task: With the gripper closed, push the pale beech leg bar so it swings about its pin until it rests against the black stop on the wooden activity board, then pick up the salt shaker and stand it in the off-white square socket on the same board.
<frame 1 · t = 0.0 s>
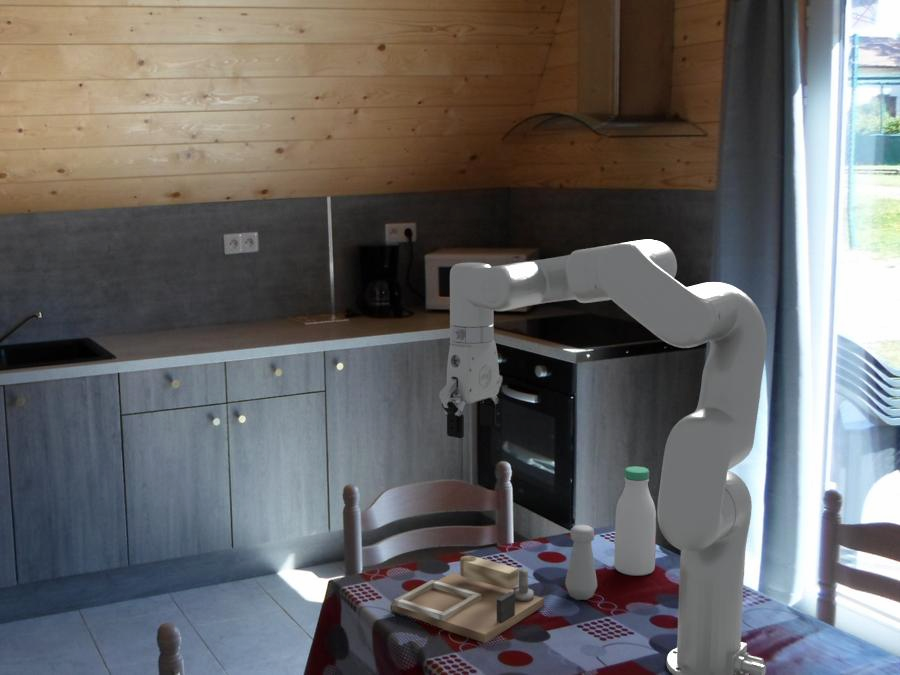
hand: (472, 430, 186), 31 cm above the table, tool pointing down, fingers open, 9 cm apart
milk bottle: (634, 570, 205), on the table
salt shaker: (581, 596, 193), on the table
wooden activity board: (468, 609, 187), on the table
leg: (487, 571, 192), point 4 cm above the table, hinge at 0.0°
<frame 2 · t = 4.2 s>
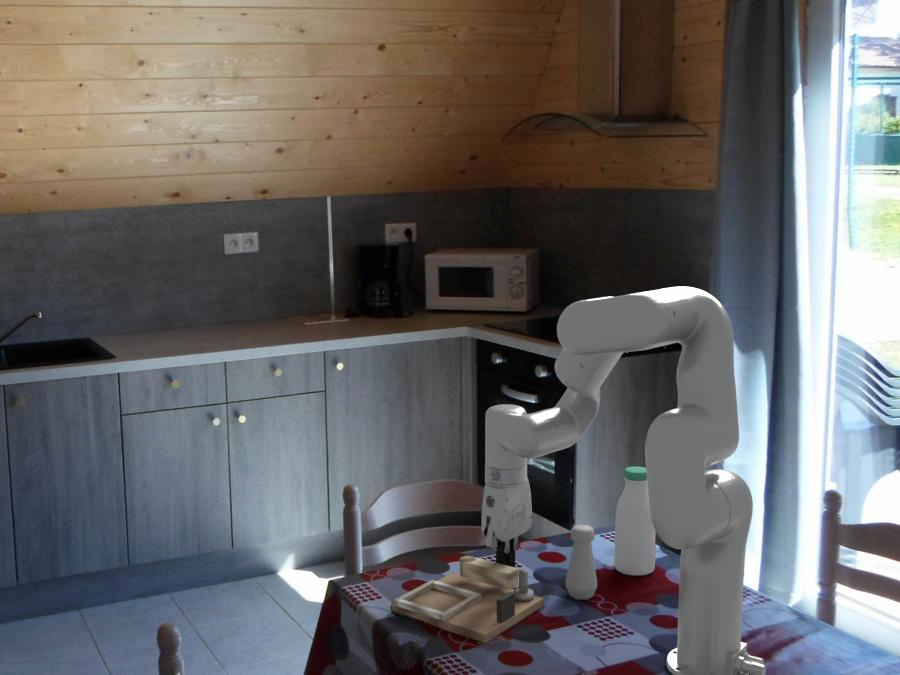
hand: (505, 570, 194), 4 cm above the table, tool pointing down, fingers closed
leg: (487, 571, 192), point 5 cm above the table, hinge at 0.8°, touching gripper
everything else where it was.
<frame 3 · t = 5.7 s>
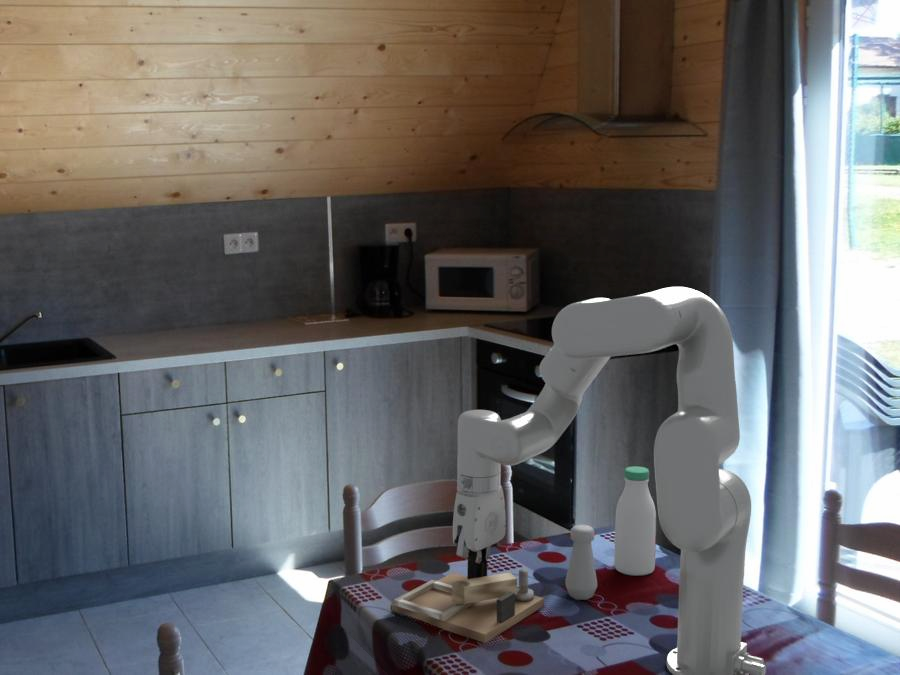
hand: (477, 580, 188), 5 cm above the table, tool pointing down, fingers closed
leg: (483, 588, 185), point 5 cm above the table, hinge at 59.3°, touching gripper
everything else where it was.
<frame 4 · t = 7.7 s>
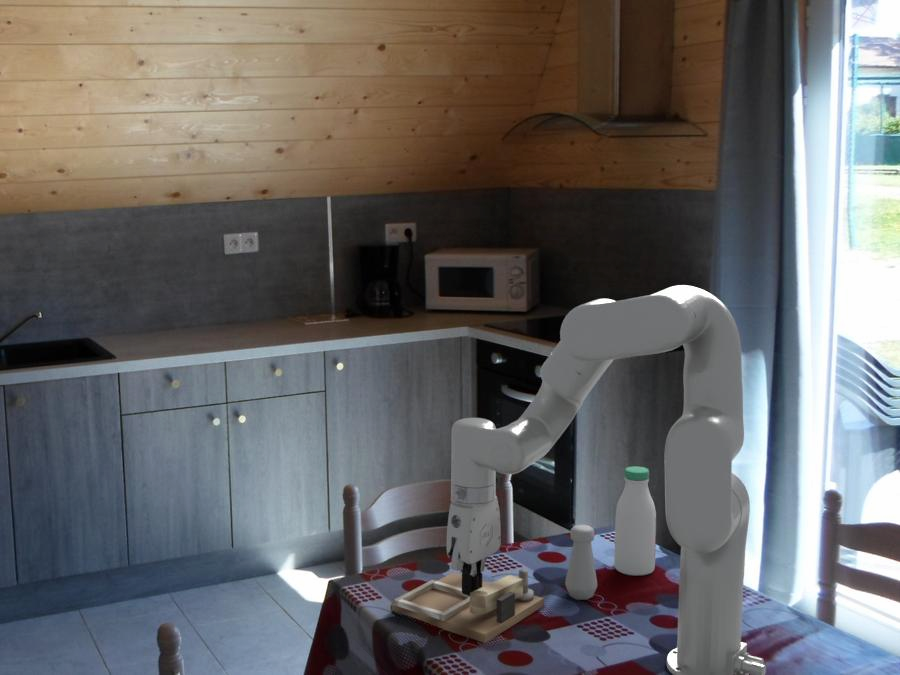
hand: (471, 594, 182), 5 cm above the table, tool pointing down, fingers closed
leg: (495, 594, 182), point 5 cm above the table, hinge at 84.3°, touching gripper
everything else where it was.
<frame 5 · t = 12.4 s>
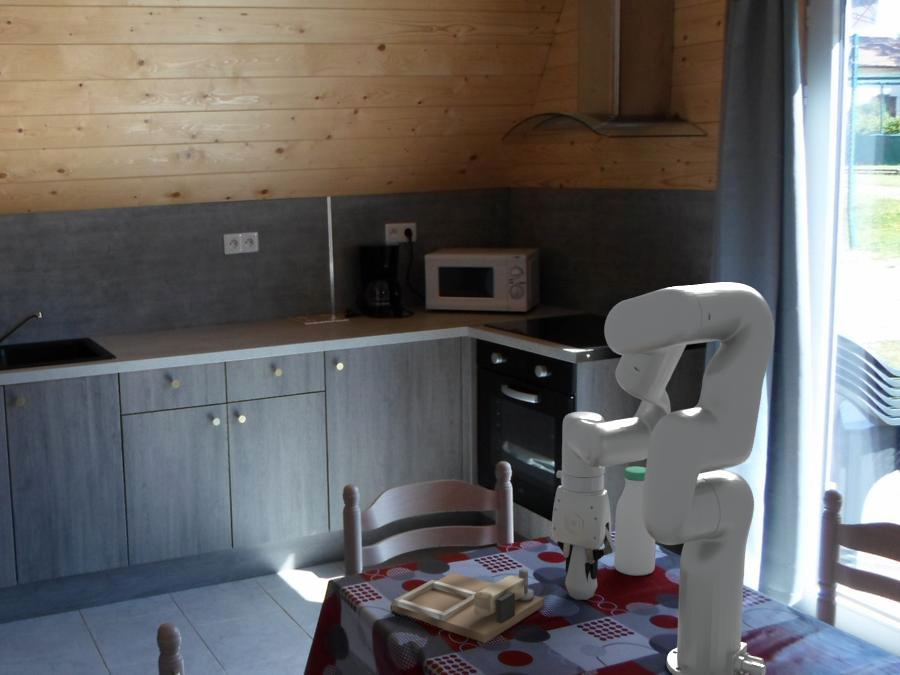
hand: (581, 578, 192), 3 cm above the table, tool pointing down, fingers closed on salt shaker, 3 cm apart
salt shaker: (581, 596, 193), on the table, touching gripper
leg: (497, 595, 182), point 5 cm above the table, hinge at 88.7°
everything else where it was.
when the fingers open (6 cm above the table, at t = 17.9 s): salt shaker drops 1 cm, resting on wooden activity board.
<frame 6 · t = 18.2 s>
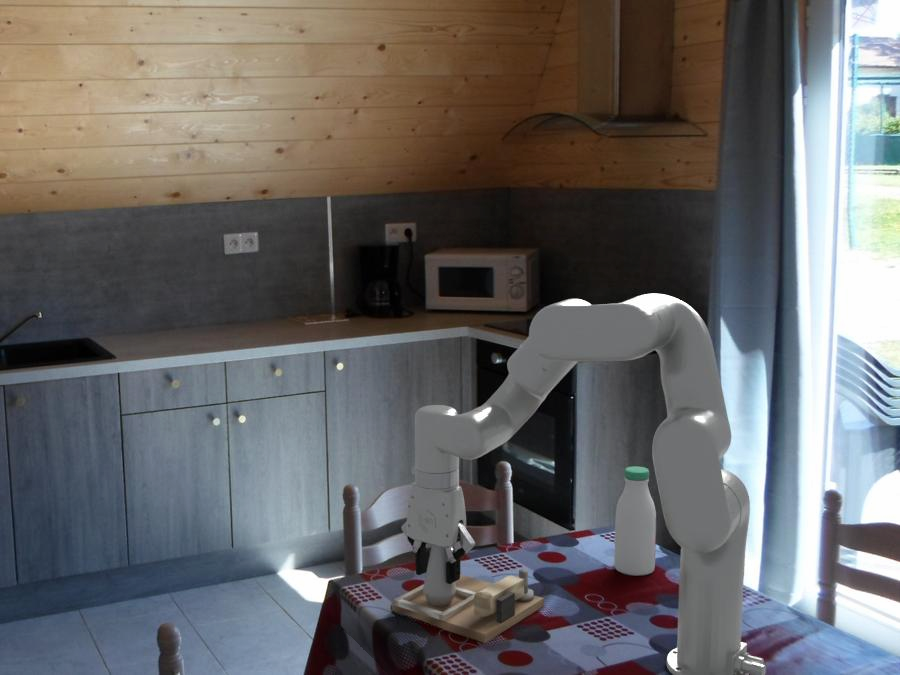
hand: (437, 576, 186), 6 cm above the table, tool pointing down, fingers open, 6 cm apart
salt shaker: (439, 603, 186), point 1 cm above the table, touching wooden activity board
everything else where it was.
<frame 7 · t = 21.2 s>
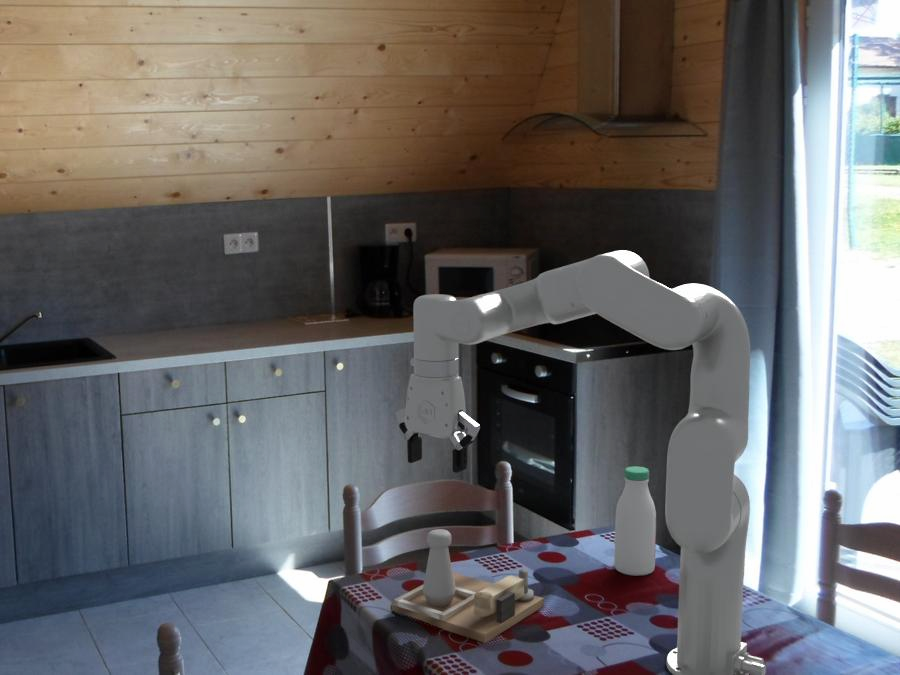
hand: (437, 465, 182), 26 cm above the table, tool pointing down, fingers open, 9 cm apart
nothing on the table moved.
at the end: leg at +89° (first picture: +0°); salt shaker 0.3 cm from the target spot, point 1.3 cm above the table; salt shaker tilted 0° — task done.
